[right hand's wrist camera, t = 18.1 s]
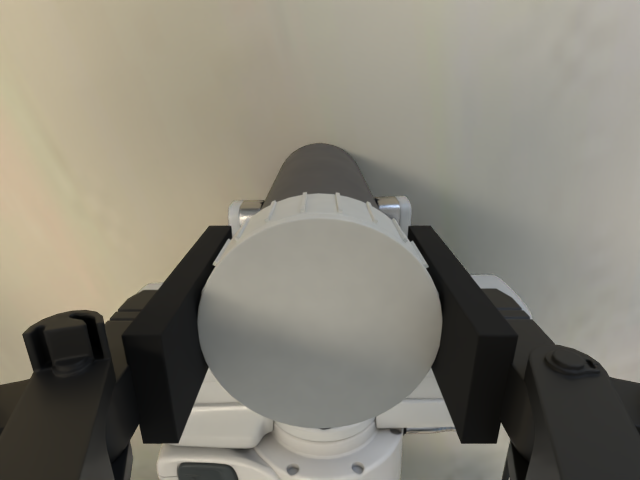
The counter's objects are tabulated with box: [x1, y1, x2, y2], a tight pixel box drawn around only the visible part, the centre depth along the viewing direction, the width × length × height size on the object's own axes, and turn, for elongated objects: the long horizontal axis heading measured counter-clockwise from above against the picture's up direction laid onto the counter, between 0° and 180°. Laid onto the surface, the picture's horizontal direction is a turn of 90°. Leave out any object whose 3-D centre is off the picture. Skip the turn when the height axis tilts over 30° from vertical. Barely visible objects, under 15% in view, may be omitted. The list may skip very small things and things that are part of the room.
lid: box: [197, 192, 443, 428], centre depth 11 cm, size 6×6×2 cm
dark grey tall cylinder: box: [260, 143, 380, 211], centre depth 18 cm, size 5×5×15 cm
